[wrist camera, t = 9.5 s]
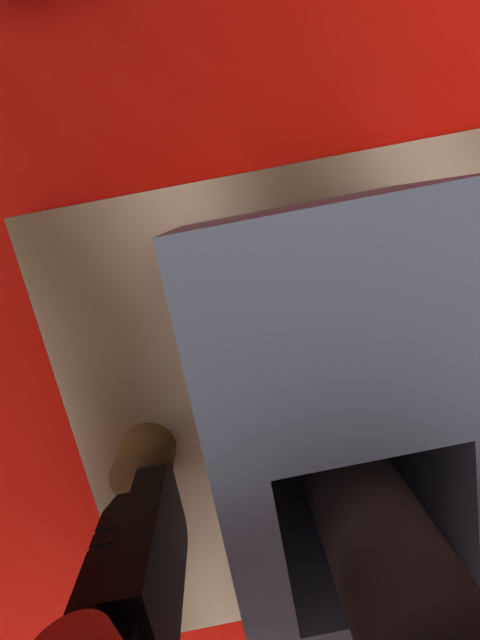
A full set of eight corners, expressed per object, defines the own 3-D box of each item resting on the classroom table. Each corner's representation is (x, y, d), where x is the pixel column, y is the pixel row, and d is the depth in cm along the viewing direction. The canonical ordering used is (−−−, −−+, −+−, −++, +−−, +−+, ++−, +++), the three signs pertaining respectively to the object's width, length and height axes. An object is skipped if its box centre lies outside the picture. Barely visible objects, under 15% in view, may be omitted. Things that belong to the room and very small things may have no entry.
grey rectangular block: (180, 225, 11) (151, 238, 6) (390, 186, 11) (533, 165, 6) (259, 592, 14) (282, 797, 9) (422, 559, 14) (533, 745, 9)
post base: (146, 600, 15) (68, 1040, 7) (29, 217, 12) (-389, 230, 4) (515, 527, 16) (850, 878, 7) (510, 126, 12) (1152, -59, 4)
